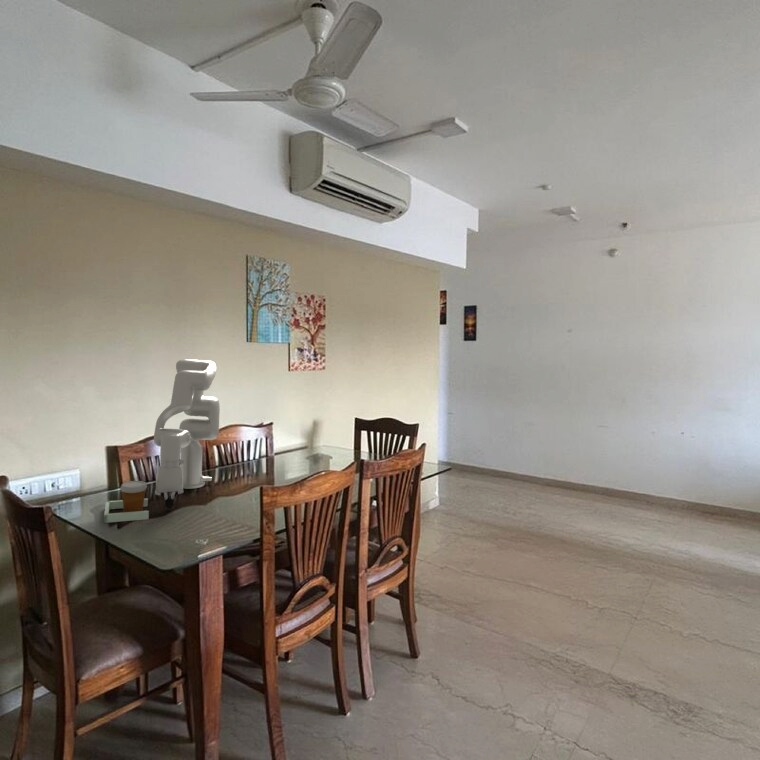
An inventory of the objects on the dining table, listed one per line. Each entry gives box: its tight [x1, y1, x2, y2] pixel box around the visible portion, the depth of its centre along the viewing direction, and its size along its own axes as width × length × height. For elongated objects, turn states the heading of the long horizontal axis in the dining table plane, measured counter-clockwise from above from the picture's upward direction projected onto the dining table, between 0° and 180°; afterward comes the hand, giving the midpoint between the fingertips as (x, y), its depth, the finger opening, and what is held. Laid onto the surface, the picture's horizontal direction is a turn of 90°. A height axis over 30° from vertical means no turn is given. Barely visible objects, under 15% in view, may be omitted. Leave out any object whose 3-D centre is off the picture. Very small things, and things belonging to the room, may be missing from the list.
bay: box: [103, 498, 150, 524], centre depth 205 cm, size 15×16×3 cm
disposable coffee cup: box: [119, 480, 148, 512], centre depth 205 cm, size 10×10×12 cm
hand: (168, 507), depth 212 cm, fingers closed
